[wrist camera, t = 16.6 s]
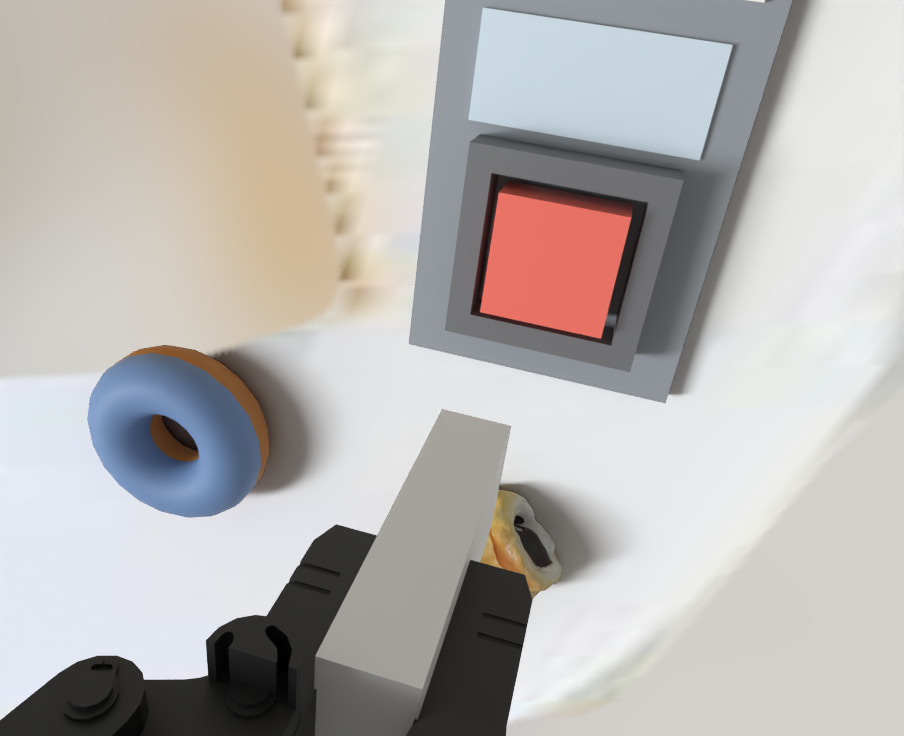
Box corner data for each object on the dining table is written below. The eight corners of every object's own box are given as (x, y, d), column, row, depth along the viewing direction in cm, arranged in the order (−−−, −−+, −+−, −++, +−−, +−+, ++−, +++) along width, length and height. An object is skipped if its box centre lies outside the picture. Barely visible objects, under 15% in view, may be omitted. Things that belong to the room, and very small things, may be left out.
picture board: (518, -616, 20) (500, -693, 18) (981, -613, 18) (1026, -699, 16) (413, 337, 35) (396, 360, 32) (665, 394, 33) (665, 423, 30)
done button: (508, 180, 29) (498, 192, 27) (633, 204, 28) (631, 217, 26) (489, 294, 31) (479, 312, 29) (604, 319, 30) (601, 338, 29)
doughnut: (110, 455, 43) (63, 501, 39) (121, 308, 39) (68, 342, 35) (268, 506, 43) (236, 557, 39) (297, 365, 39) (265, 405, 35)
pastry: (434, 605, 43) (415, 655, 39) (371, 518, 41) (346, 563, 38) (575, 562, 39) (566, 614, 35) (511, 464, 37) (497, 509, 34)
